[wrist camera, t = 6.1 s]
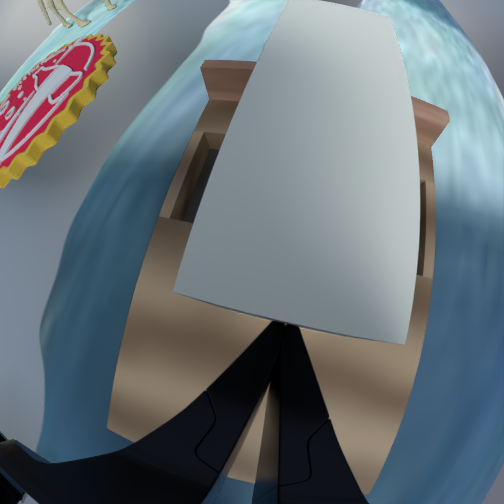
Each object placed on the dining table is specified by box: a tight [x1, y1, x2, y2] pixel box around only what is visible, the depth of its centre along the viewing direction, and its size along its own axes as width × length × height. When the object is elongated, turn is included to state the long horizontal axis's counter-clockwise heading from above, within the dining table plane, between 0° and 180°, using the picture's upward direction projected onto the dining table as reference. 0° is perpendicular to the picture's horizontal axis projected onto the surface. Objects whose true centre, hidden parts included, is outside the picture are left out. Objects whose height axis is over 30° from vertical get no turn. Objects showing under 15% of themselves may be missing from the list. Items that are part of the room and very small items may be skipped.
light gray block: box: [173, 0, 420, 345], centre depth 12 cm, size 14×5×10 cm, turn 166°
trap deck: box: [107, 60, 450, 494], centre depth 15 cm, size 26×18×6 cm
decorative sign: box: [0, 34, 117, 189], centre depth 26 cm, size 30×3×30 cm
